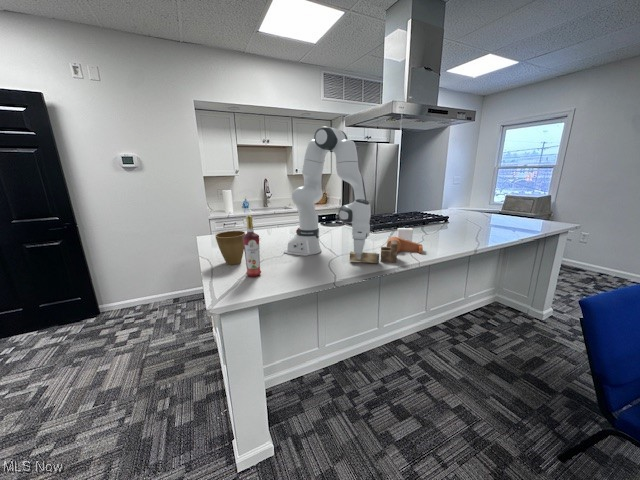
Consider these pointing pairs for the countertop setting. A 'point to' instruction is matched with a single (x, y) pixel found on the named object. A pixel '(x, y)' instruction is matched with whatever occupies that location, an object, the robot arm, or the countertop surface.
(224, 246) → the plant pot
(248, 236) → the liquor
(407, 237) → the white piece
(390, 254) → the wooden u-shaped bracket
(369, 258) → the rail
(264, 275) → the countertop surface
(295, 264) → the countertop surface
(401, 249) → the crank
